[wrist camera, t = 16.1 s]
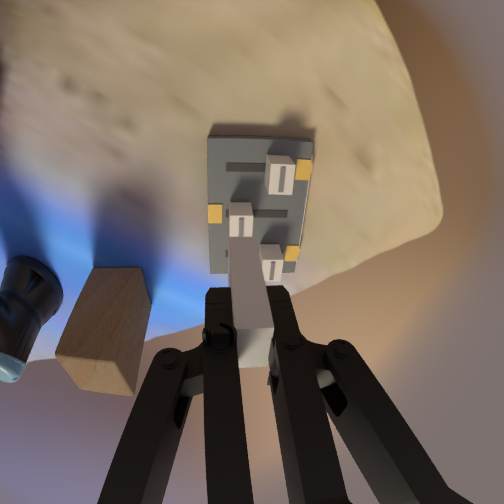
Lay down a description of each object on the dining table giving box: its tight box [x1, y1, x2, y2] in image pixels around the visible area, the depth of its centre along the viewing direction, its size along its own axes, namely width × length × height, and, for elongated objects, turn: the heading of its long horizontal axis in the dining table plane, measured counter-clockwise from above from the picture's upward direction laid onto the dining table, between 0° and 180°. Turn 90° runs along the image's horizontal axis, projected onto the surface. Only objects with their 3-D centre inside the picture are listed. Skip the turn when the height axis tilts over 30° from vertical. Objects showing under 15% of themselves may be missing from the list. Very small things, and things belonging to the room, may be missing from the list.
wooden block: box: [55, 267, 151, 396], centre depth 42 cm, size 10×10×20 cm
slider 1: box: [229, 202, 253, 237], centre depth 40 cm, size 3×4×4 cm
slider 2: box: [264, 155, 295, 195], centre depth 36 cm, size 3×4×4 cm
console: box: [207, 135, 313, 274], centre depth 43 cm, size 14×22×2 cm, turn 177°
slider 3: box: [259, 244, 284, 281], centre depth 44 cm, size 3×4×4 cm
